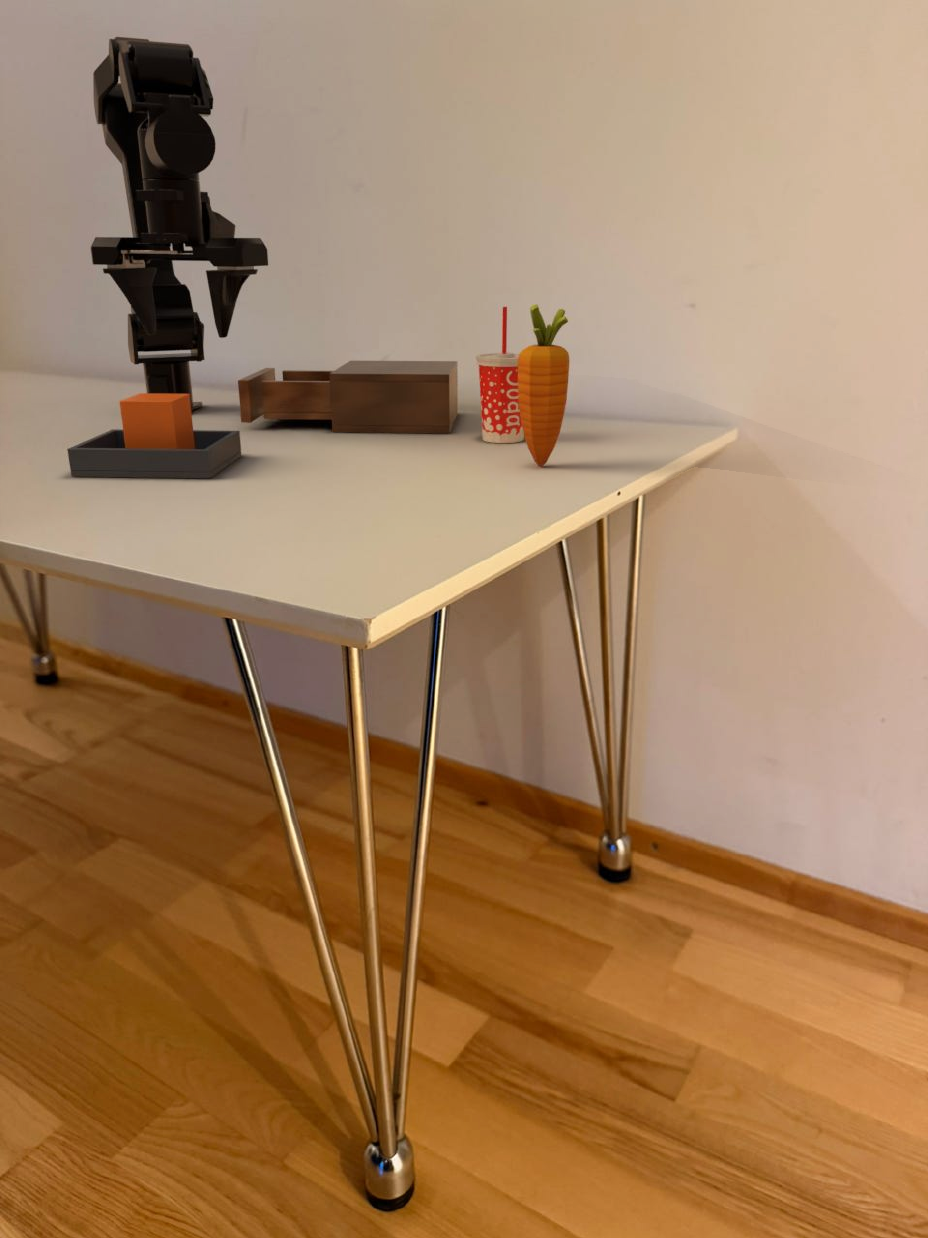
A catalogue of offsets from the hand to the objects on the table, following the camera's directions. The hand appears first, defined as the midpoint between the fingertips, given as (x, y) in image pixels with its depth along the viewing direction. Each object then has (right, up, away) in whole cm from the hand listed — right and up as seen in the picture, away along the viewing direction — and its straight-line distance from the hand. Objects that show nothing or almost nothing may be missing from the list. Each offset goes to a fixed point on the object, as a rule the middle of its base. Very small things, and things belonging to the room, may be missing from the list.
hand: (187, 335), depth 105 cm
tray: (+1, -16, -12) cm, 21 cm away
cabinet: (+23, -7, +11) cm, 26 cm away
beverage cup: (+35, -11, +1) cm, 37 cm away
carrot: (+38, -17, -13) cm, 43 cm away
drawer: (+11, -6, +11) cm, 17 cm away
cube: (+1, -16, -13) cm, 20 cm away
